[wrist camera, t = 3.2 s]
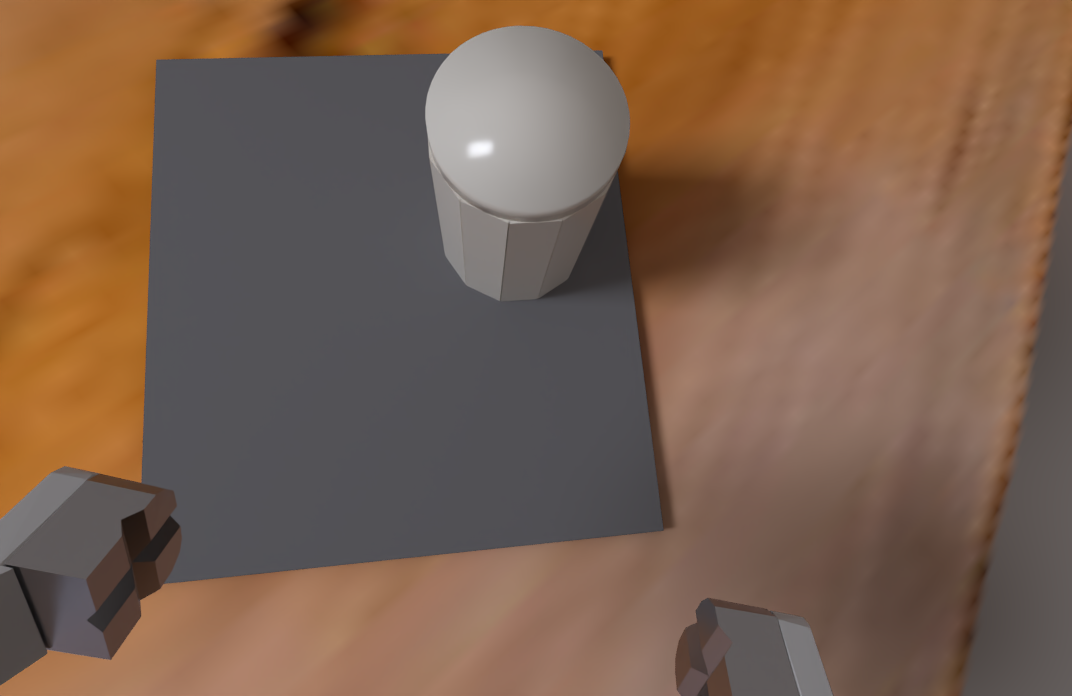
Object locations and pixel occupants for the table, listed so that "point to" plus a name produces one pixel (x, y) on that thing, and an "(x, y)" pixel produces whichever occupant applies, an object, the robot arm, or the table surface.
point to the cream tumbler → (522, 156)
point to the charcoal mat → (365, 339)
